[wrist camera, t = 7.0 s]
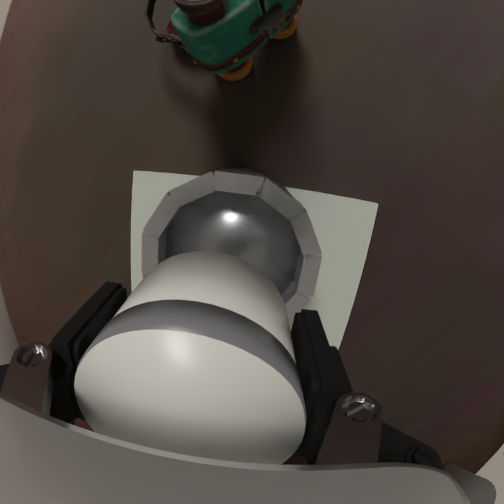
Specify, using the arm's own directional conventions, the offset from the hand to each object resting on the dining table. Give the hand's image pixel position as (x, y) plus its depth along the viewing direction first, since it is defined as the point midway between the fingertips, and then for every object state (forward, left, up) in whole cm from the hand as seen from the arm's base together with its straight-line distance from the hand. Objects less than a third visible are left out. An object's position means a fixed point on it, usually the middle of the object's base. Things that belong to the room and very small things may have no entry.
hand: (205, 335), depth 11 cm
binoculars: (+3, -16, -13) cm, 21 cm away
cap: (0, 0, -1) cm, 1 cm away
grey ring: (0, 0, -12) cm, 12 cm away
